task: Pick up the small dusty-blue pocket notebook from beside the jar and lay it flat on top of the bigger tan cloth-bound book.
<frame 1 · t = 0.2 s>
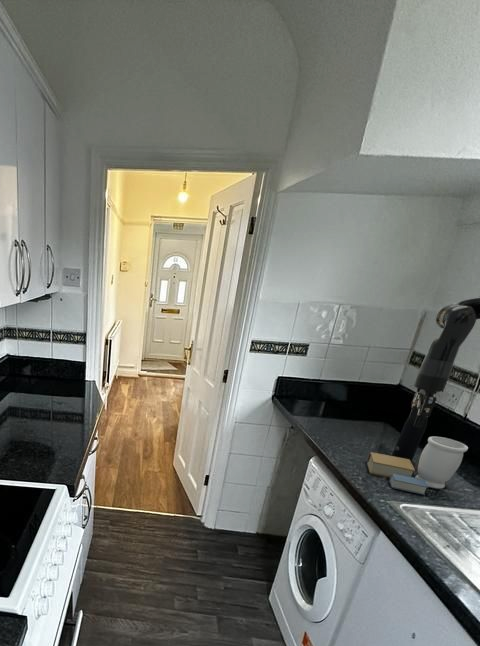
hand: (414, 423, 133), 20 cm above the counter, tool pointing down, fingers open, 8 cm apart
wine bottle: (400, 460, 156), on the counter
pocket book: (406, 487, 136), on the counter
big book: (387, 471, 146), on the counter
jar: (429, 483, 140), on the counter
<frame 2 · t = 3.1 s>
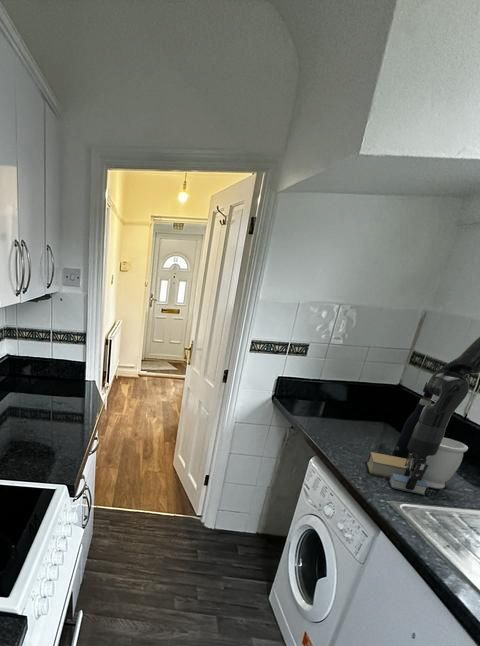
hand: (407, 484, 135), 1 cm above the counter, tool pointing down, fingers closed on pocket book, 5 cm apart
pocket book: (406, 487, 136), on the counter, touching gripper
everything else where it was.
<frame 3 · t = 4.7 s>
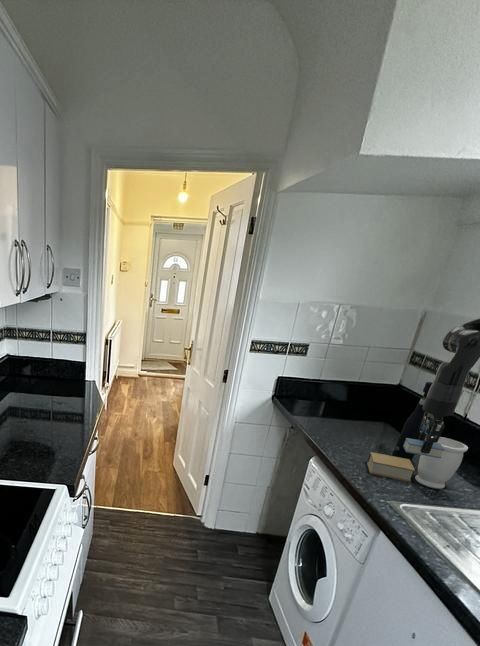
hand: (422, 449, 130), 14 cm above the counter, tool pointing down, fingers closed on pocket book, 5 cm apart
pocket book: (421, 452, 130), point 13 cm above the counter, touching gripper
everything else where it was.
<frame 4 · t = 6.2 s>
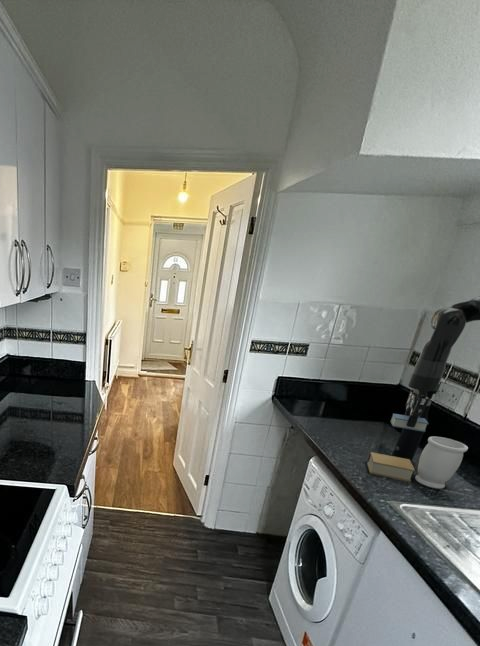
hand: (408, 423, 138), 19 cm above the counter, tool pointing down, fingers closed on pocket book, 5 cm apart
pocket book: (407, 426, 138), point 18 cm above the counter, touching gripper
everything else where it was.
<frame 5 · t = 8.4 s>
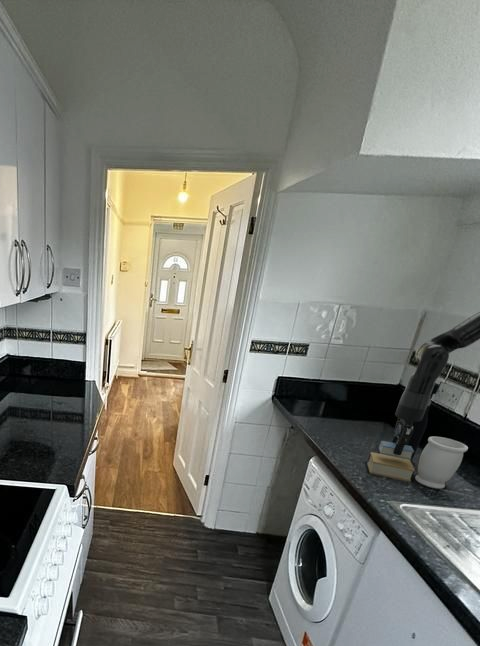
hand: (395, 451, 143), 8 cm above the counter, tool pointing down, fingers closed on pocket book, 5 cm apart
pocket book: (394, 453, 144), point 7 cm above the counter, touching gripper
everything else where it was.
when the fingers open (6 cm above the counter, at t = 9.6 s): pocket book stays where it is, resting on big book.
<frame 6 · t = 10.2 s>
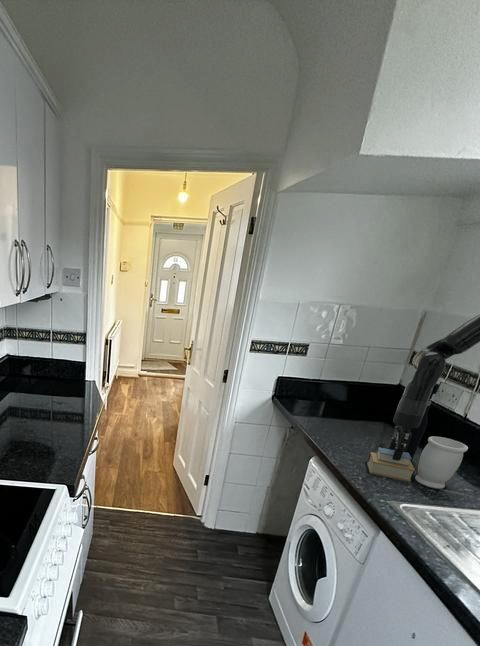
hand: (393, 455, 144), 6 cm above the counter, tool pointing down, fingers open, 8 cm apart
pocket book: (391, 460, 145), point 5 cm above the counter, touching big book
big book: (387, 471, 146), on the counter, touching pocket book
everything else where it was.
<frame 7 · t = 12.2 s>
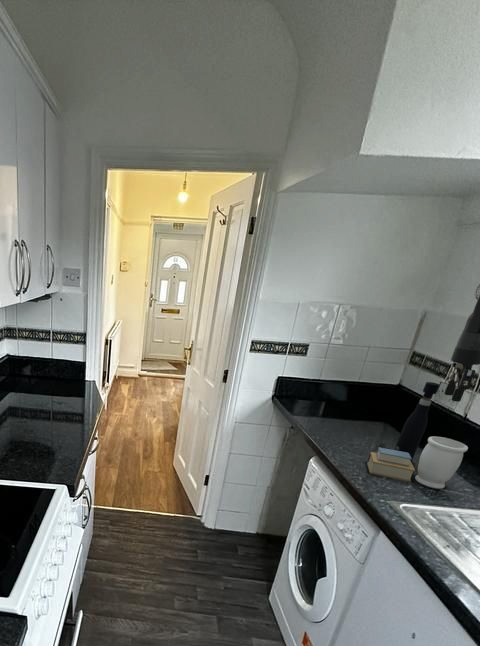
hand: (451, 397, 134), 28 cm above the counter, tool pointing down, fingers open, 8 cm apart
nothing on the counter moved.
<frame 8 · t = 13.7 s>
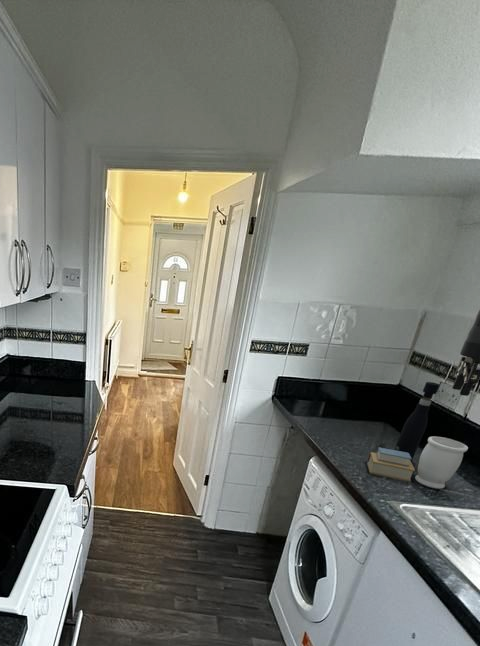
hand: (459, 392, 134), 30 cm above the counter, tool pointing down, fingers open, 8 cm apart
nothing on the counter moved.
at the end: pocket book 0.0 cm off-centre on the big book, point 4.5 cm above the big book's base; pocket book tilted 0°; big book moved 0.0 cm from its start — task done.
